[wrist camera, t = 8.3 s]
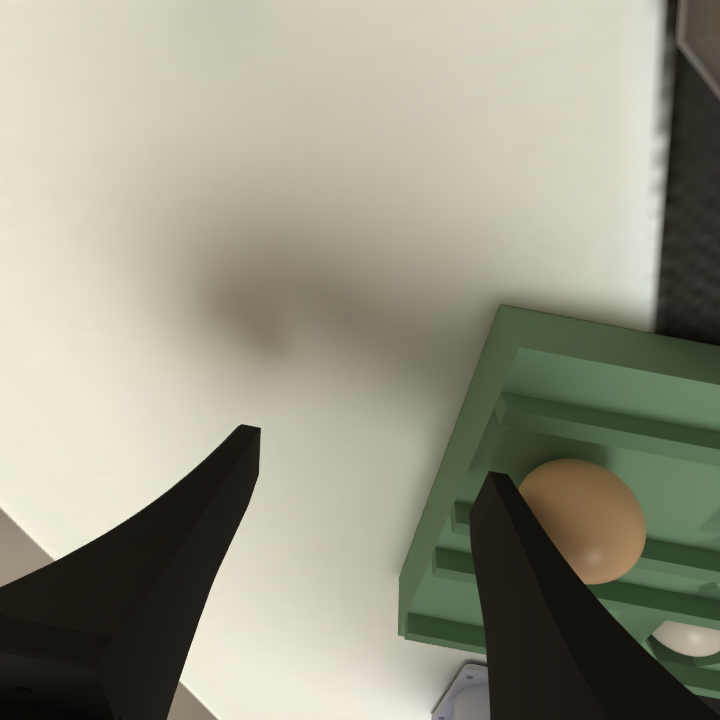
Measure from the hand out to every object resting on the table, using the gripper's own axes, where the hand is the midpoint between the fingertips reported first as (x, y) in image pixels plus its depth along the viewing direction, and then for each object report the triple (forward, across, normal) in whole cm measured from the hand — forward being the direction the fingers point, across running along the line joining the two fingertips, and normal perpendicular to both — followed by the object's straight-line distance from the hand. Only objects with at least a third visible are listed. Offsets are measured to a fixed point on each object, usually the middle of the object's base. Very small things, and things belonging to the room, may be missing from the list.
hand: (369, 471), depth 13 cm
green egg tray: (+4, -12, +4) cm, 13 cm away
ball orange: (0, -6, 0) cm, 7 cm away
